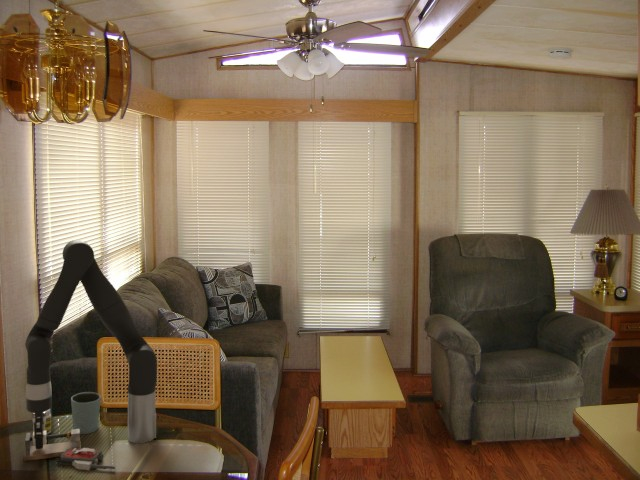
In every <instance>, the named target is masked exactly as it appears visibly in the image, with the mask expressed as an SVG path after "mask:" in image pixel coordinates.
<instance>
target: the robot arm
mask: <svg viewBox="0 0 640 480" xmlns="http://www.w3.org/2000/svg"><path fill="white" fill-rule="evenodd" d="M62 259H63V263H62V267H61V271H60V274H59V276H58V279H57V281H56V283H55V285H54V287H52V289H51V291H50V293H49V295H47V298H46V300H45V302H44V303H43V306H42V308H41V310H40V313H39V314H38V318H37V320H36V322H35V324H34V325H33V326H32V328H31V329H30V331H29V333H28V334H27V337H26V340H25V349H26V351H27V368H26V389H25V390H26V391H25V393H26V394H25V395H26V396H25V397H26V398H25V400H26V401H25V402H26V404H25V405H26V408H25V409H26V410H27V412H29V413H32V417H31V419H32V420H31V421H32V425H33V426H32V431H33V432H34V438H35V444H36V449H42V448H43V436H44V435H43V431H44V429H45V423H46V412H44V411H47V410H49V409H50V410H51V409H52V406H53V404H52V403H53V401H52V398H53V397H52V396H53V395H52V382H51V381H52V380H51V362H52V361H51V360H52V359H51V358H52V344H51V339H52V336H53V334H54V332H55V331H57V330H58V329H59V327H60V325H61V323H62V321H63V319H64V316H65V314H66V312H67V310H68V308H69V305H70V302H71V300H72V298H73V295H74V294H75V291H76V289H77V287H78V286H79V284H80V283H81V284H82V287H83V289H84V291H85V293H86V295H87V297H88V300H89V302H90V303H91V306H92V307H93V309H94V310H95V312H96V315H98V317H99V319H100V321H101V322H102V324H103V325H104V326H105V327H106V329H107V330H108V331H109V332H110V333H111V334H112V335H113V336H114V337H115V339H116V340H117V341H118V343H119V345H120V346H121V349H122V351H123V353H124V355H125V357H126V361H127V363H128V385H127V440H128V441H129V442H130V443H132V442H133V444H146V443H149V442H148V441H150V440H152V439H154V438H156V439H157V412H156V387H157V386H156V385H157V380H158V379H157V378H158V376H157V375H158V374H157V373H158V359H157V358H158V357H157V356H156V353H155V351H154V350H153V348H152V347H151V346H150V344H148V342H147V341H146V339H145V338H144V337H143V336H142V335H141V333H140V332H139V330H138V329H137V327H136V324H135V322H134V320H133V317H132V315H131V313H130V311H129V309H128V307H127V305H126V304H125V302H124V300H123V298H122V296H121V295H120V294H119V292H118V291H117V289H116V288H115V287H114V285H113V284H112V283H111V282H110V280H109V279H108V278H107V277H106V276H105V275H104V273H103V271H102V270H101V268H100V266H99V264H98V263H97V260H96V258H95V252H94V249H93V248H92V247H91V245H89V244H88V242H86V241H83V240H80V239H79V240H78V239H74V240H71V241H68V242H67V243H66V245H64V247H63V250H62ZM37 433H41V434H37ZM152 441H153V440H152ZM145 442H146V443H145ZM150 442H151V441H150Z"/></svg>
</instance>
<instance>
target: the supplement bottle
mask: <svg viewBox="0 0 640 480" xmlns="http://www.w3.org/2000/svg"><path fill="white" fill-rule="evenodd" d="M44 412H46V423H45V429H44V431H46V430H47V435H49V434H51V432H52V415H51V408H50V409H49V410H47V411H44Z"/></svg>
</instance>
